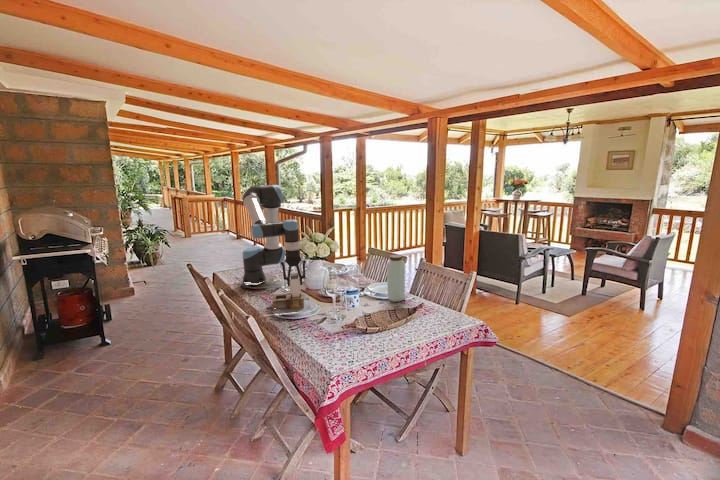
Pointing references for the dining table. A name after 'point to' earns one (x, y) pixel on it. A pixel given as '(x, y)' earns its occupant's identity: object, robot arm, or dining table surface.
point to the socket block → (288, 301)
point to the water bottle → (396, 278)
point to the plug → (295, 285)
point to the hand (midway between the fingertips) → (295, 290)
